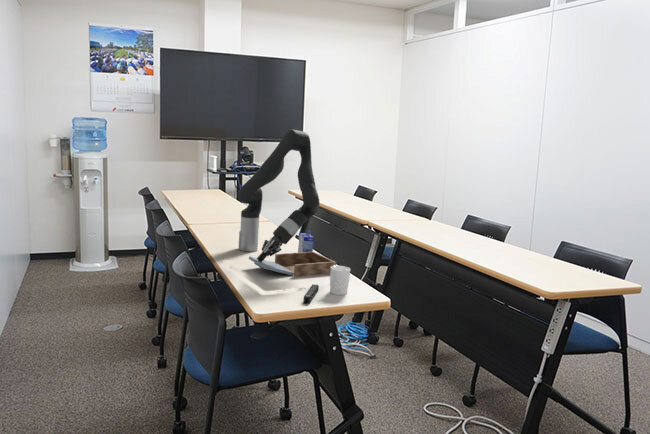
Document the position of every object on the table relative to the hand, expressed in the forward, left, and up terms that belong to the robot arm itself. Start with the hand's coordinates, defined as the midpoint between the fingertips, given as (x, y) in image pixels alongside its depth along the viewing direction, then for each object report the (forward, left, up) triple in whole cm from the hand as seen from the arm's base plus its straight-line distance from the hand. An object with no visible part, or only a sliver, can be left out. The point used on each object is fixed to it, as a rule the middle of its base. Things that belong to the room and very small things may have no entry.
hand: (258, 260), depth 221 cm
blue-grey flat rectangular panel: (+10, +7, -5) cm, 14 cm away
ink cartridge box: (+17, +37, -7) cm, 41 cm away
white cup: (+35, -13, -7) cm, 38 cm away
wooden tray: (+19, +13, -7) cm, 24 cm away
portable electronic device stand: (+24, -22, -7) cm, 33 cm away
